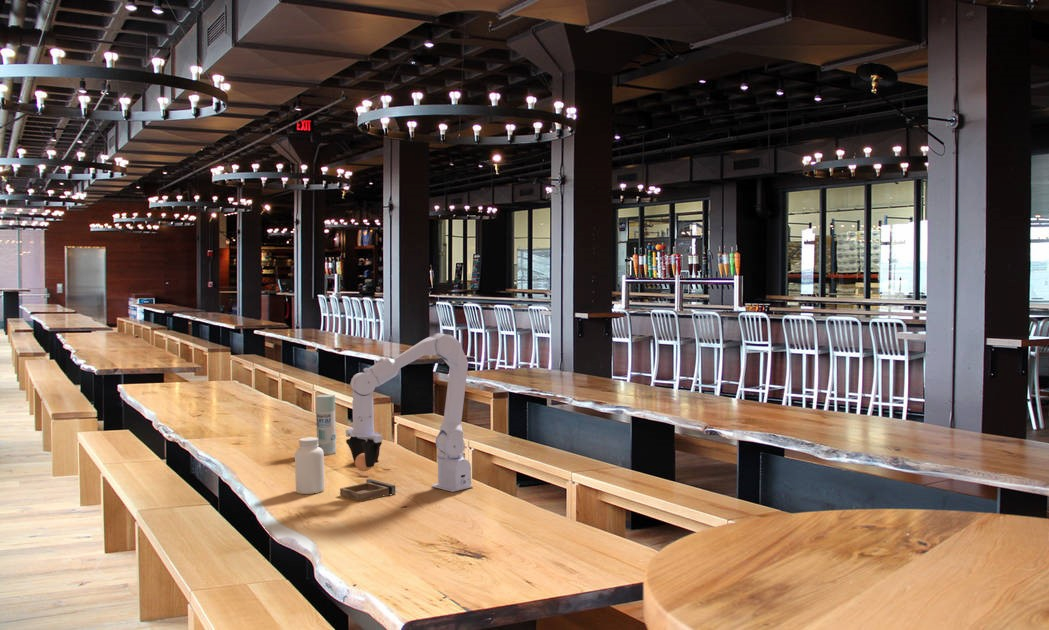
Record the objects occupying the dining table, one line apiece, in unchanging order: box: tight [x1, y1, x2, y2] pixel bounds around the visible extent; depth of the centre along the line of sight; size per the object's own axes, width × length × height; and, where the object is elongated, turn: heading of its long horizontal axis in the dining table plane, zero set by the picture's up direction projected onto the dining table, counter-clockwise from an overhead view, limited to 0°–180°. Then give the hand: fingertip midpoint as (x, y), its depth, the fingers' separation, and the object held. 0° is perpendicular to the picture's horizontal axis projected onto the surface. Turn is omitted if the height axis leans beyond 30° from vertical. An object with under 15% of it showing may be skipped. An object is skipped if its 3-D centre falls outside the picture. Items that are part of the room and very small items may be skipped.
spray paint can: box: [315, 394, 337, 456], centre depth 299 cm, size 6×6×20 cm
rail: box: [365, 478, 396, 495], centre depth 245 cm, size 12×1×2 cm, turn 46°
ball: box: [354, 453, 372, 472], centre depth 240 cm, size 5×5×5 cm
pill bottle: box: [294, 436, 325, 495], centre depth 246 cm, size 8×8×15 cm
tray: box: [339, 482, 390, 502], centre depth 241 cm, size 10×10×2 cm
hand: (364, 465), depth 240 cm, fingers closed on ball, 5 cm apart
